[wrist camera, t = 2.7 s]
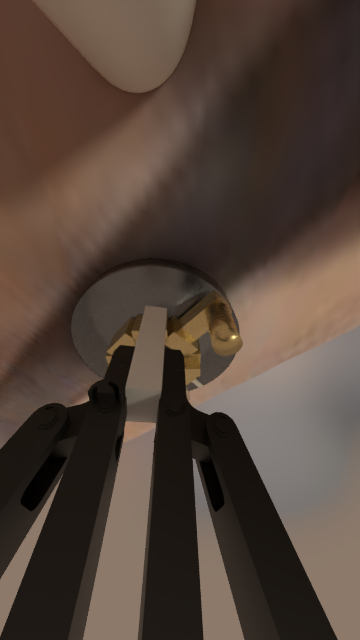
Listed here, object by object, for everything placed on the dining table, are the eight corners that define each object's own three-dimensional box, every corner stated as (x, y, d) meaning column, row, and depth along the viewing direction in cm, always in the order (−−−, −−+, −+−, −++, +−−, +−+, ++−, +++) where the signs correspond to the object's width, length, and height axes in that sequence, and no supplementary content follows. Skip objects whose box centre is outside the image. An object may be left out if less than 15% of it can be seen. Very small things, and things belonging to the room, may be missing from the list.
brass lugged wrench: (161, 384, 30) (158, 432, 24) (99, 350, 26) (75, 399, 20) (251, 321, 23) (276, 368, 17) (186, 259, 19) (190, 294, 13)
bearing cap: (144, 212, 19) (130, 225, 13) (264, 329, 28) (286, 367, 22) (54, 335, 28) (23, 374, 23) (166, 394, 37) (164, 432, 32)
